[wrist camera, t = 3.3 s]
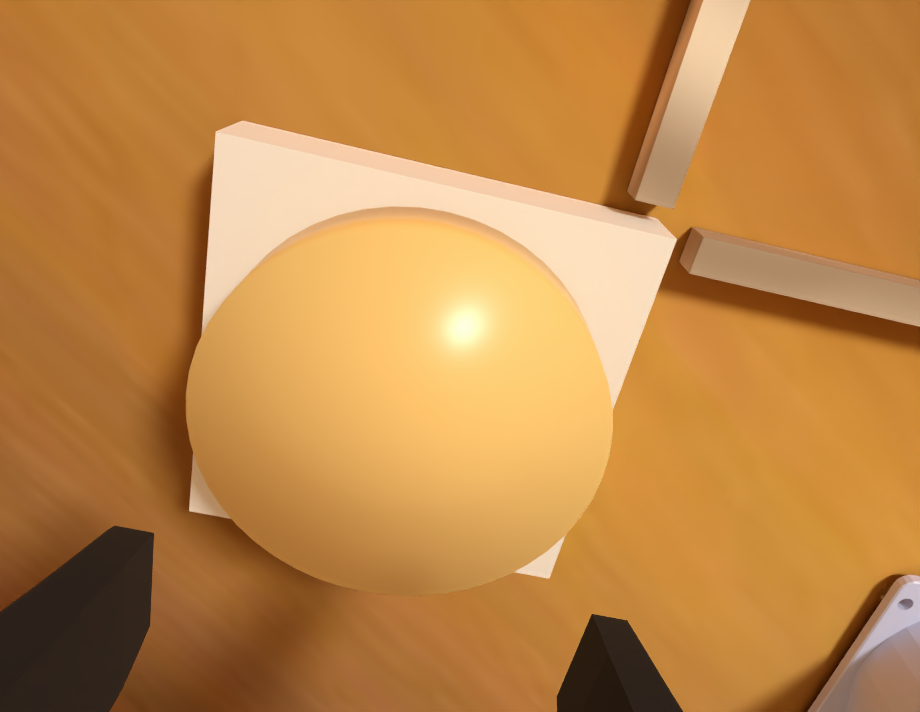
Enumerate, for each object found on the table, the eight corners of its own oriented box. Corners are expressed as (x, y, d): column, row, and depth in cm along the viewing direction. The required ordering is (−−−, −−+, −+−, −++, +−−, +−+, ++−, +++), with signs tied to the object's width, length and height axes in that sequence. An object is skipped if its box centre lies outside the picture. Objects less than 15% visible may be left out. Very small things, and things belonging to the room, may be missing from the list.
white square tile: (542, 535, 23) (549, 578, 21) (212, 471, 22) (189, 510, 20) (656, 218, 18) (677, 239, 16) (242, 120, 17) (215, 131, 16)
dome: (533, 528, 22) (545, 625, 19) (224, 468, 22) (175, 558, 18) (635, 235, 18) (676, 288, 14) (256, 147, 17) (198, 179, 14)
